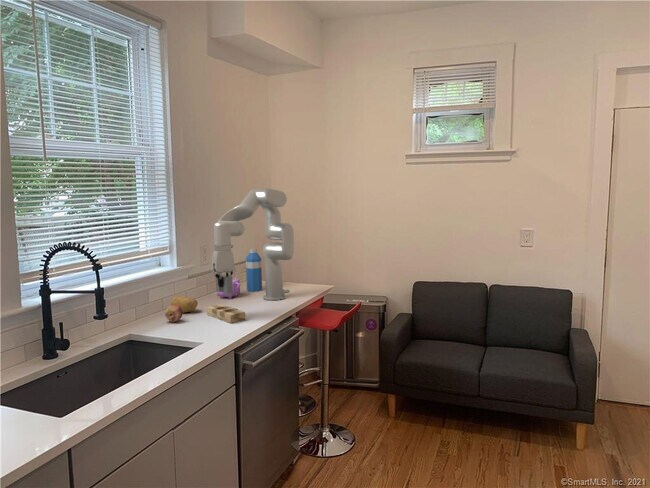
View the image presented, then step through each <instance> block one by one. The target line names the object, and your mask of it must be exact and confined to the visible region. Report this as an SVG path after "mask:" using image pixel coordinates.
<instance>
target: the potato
mask: <svg viewBox="0 0 650 488" xmlns="http://www.w3.org/2000/svg"><path fill="white" fill-rule="evenodd" d="M171 305H178V306H180V307H181V309H182V314H183V313H191V312H193V311H194V310H195V309H197V307H198V300H196V298H193V297H188V296H180V295H178V296H174V297H172V299H171Z"/></svg>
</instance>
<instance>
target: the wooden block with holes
mask: <svg viewBox="0 0 650 488" xmlns="http://www.w3.org/2000/svg"><path fill="white" fill-rule="evenodd" d="M206 315H207V316H208V317H211V318H214V319H217V320H220V321H223V322H226V323H228V324H235V323H239V322H243V321H246V311H243V310H241V309H237V308H234V307H231V306H228V305H225V304H221V303H220V304H215V305H211V306H210V305H209V306H207V307H206Z"/></svg>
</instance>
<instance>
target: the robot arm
mask: <svg viewBox="0 0 650 488" xmlns="http://www.w3.org/2000/svg"><path fill="white" fill-rule="evenodd" d="M287 199H288V198H287V195H286V193H285V192H284V191H282V190H278V189H273V188H269V187H268V188H261V187H260V188H253V189H251V190H250V191H248V193H247V194H246V195H245V196H244V198H243V199H242V201H241V202H240V203H239V204H238V205H236V206H235V207H233V208H231V209H230V210H228V211H226V212H225V213H224V214H223V215H222V216H221V217H220V218H219V219H218V220H217V222H215V223H214V225H213V235H214V237H213V238H214V251H212V252H213V253H212V257H211V272H210V275H212V276H214V277H215V279H216V278H217V279H218V286H219V287H223V279H222V275H223V273H224V274H225V275H227V276H231V277H233V276H232V275H234V273H236V272H237V270H236V267H235V257H234V253H233V251H232V248H234V245H233V244H232V242H231V241H232V240H231V238H232V237H235V238H236V237H240V236H242V235H243V234H244V232H245V230H246V229H245V225H244V224H243V222H241V221H244V220H246V219H249V218H251V217H253V216H254V214H255V212H256V211H257V210H258V209H259V207H260V208H261V209H262V210H263V212H264V217H265V219H264V220H265V222H264V223H265V224H264V225H265V230H264V231H265V237H266V239H268V240H272V241H269V242H267V243H265V244H264V245H263V247H262V255H263V260H264V261H263V262H264V272H265V275H264V277H265V278H264V279H265V295H263V296H262V297H263V298H262V299H263V300H264V301H265V300H266V301H271V300H274V301H281V300H280V299H282V300H284V298H285V297H287V296H286V295H285V294H289V293H290V289H285V288H284V287H283V285H284V284H283V281H284V280H283V265H282V263H281V261H289V260H291V259H293V256H294V252H295V251H294V250H295V242H294V239H295V235H294V234H295V232H294V228H293V226H292V224H290V223H289V222H288V223H287V222H282V219H281V211H280V209H279V208H283V207H284V206H286V203H287ZM273 240H274V241H275V242H274V241H273ZM276 241H277V242H276ZM278 241H282V242H278ZM285 299H286V298H285Z"/></svg>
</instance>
